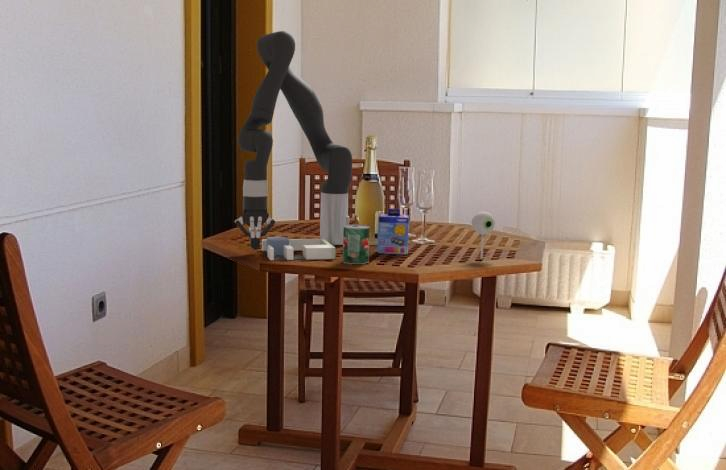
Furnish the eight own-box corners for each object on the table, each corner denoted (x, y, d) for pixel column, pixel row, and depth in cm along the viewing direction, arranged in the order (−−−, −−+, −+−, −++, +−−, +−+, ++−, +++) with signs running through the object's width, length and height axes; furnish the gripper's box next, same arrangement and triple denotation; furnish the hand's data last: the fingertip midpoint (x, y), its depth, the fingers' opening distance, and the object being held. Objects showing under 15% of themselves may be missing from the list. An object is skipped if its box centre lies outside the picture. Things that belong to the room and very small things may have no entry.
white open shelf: (323, 249, 299) (323, 238, 299) (335, 258, 283) (335, 247, 282) (261, 250, 294) (262, 239, 294) (270, 260, 278) (270, 248, 277)
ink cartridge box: (376, 253, 294) (378, 208, 292) (377, 250, 300) (378, 206, 297) (407, 254, 294) (409, 209, 291) (407, 251, 299) (409, 207, 297)
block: (285, 252, 293) (285, 236, 292) (288, 255, 287) (289, 239, 286) (266, 252, 291) (266, 237, 290) (269, 256, 286) (269, 240, 285)
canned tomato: (372, 264, 276) (373, 227, 274) (346, 265, 273) (347, 228, 272) (364, 259, 283) (365, 224, 281) (339, 260, 281) (340, 224, 279)
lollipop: (477, 261, 285) (479, 213, 283) (465, 257, 291) (468, 210, 289) (497, 260, 288) (499, 212, 285) (485, 256, 294) (487, 209, 292)
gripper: (274, 192, 290) (274, 247, 293) (232, 193, 287) (232, 247, 289) (278, 195, 283) (277, 251, 285) (235, 195, 279) (234, 252, 282)
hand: (254, 249), depth 287 cm, fingers closed
